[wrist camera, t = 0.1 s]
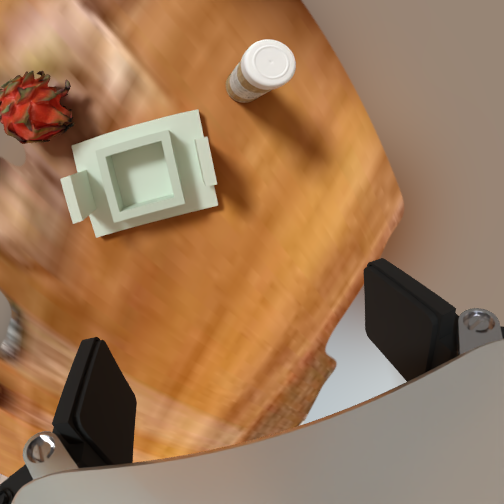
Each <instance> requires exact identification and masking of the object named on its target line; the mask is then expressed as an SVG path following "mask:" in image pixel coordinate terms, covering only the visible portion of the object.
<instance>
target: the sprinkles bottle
mask: <svg viewBox="0 0 504 504" xmlns="http://www.w3.org/2000/svg"><path fill="white" fill-rule="evenodd" d="M295 69H296V61H295V58H294V55H293V53H292V52H291V50H290V49H289V48H288V47H287V46H286V45H284V44H283V43H281V42H279V41H276V40H269V39H267V40H261V41H258V42H256V43H254V44H252V45H251V46H250V47H249V48H248V49H247V51H246V52H245V53H244V55H243V57H242V60H241V62H239V63H238V65H237V66H236V67H235V69H234V70H233V72H232V73H231V74H230V75H229V77H228V78H227V81H226V90H227V93H228V95H229V96H230V97H231V98H232V99H233V100H235V101H238V102H241V103H246V102H251V101H253V100H255V99H256V98H258V97H260V96H262V95H264V94H265V93H267V92H269V91H271V90H272V89H276V88H279V87H281V86H282V85H284V84H285V83H287V82H288V81H289V80H290V79H291V78H292V76H293V75H294V72H295Z"/></svg>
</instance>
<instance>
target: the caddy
mask: <svg viewBox="0 0 504 504" xmlns="http://www.w3.org/2000/svg"><path fill="white" fill-rule="evenodd" d="M72 151H73V155H74V159H75V164H76V168H77V172H78V173H76V174H73V175H70V176H67V177H64V178H62V179H61V183H62V187H63V190H64V194H65V198H66V201H67V205H68V208H69V212H70V215H71V218H72V222H73V224H74V223H77V222H80V221H83V220H84V219H85V218H86V217H87V216H90V219H91V223H92V226H93V229H94V232H95V235H96V237H100V236H103V235H107V234H110V233H114V232H118V231H121V230H125V229H128V228H132V227H136V226H139V225H143V224H147V223H151V222H154V221H158V220H162V219H166V218H170V217H174V216H178V215H182V214H186V213H190V212H194V211H198V210H202V209H206V208H210V207H214V206H218V202H217V197H216V193H215V188H214V185H217V181H216V176H215V171H214V166H213V162H212V157H211V152H210V147H209V142H208V137H204V135H203V131H202V126H201V121H200V116H199V111H198V110H193V111H188V112H184V113H180V114H175V115H171V116H167V117H163V118H159V119H155V120H152V121H148V122H144V123H141V124H137V125H134V126H130V127H127V128H123V129H120V130H117V131H113V132H110V133H107V134H104V135H101V136H98V137H95V138H92V139H89V140H86V141H83V142H80V143H78V144H75V145H72Z"/></svg>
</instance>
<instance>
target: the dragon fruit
mask: <svg viewBox="0 0 504 504" xmlns="http://www.w3.org/2000/svg"><path fill="white" fill-rule="evenodd" d="M33 72H34V71H31V72H29V73H28V72H27V71H26V73H25V74H24V76H23V77H21V76H20V75H18V76H16V77H15V78H14V79H10V80H9V81H8V82H7V83H6V84H4V85H2V86H1V87H2V88H4V89H0V114H1V115H0V122H1V123H2V124H4V130H5V133H6V134H7V135H9V136H13V137H14V138H16V139H17V140H18V141H19V142H20V143H22V144H25V143H33V142H48V141H50V140H48V139H50V138H52V137H53V136H55V135H59V134H62V133H64V132H66V131H67V130H68V129H69V127H72V126H73V125H74V124H75V123H74V122H73V123H71V124H69V125H68V126H67V125H63V123H66V124H68V123H70V122H72V118H73V117H72V110H71V109H70V110H68V109H67V108H66V107H67V106H63V107H62V106H61V105H60V103H59V101H60V98H61V97H64V96H66V95H68V94H67V93H68V91H69V89H70V87H71V86H70V83H69V81H68V80H66V82H65V89H60V90H58V91H57V89H56V87H48V82H49V80H50V75H48V74H47V75H45V74H44V71H39V72H38V73H37V74H40V75H41V77H40V78H38V79H34V73H33ZM42 140H43V141H42Z"/></svg>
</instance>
